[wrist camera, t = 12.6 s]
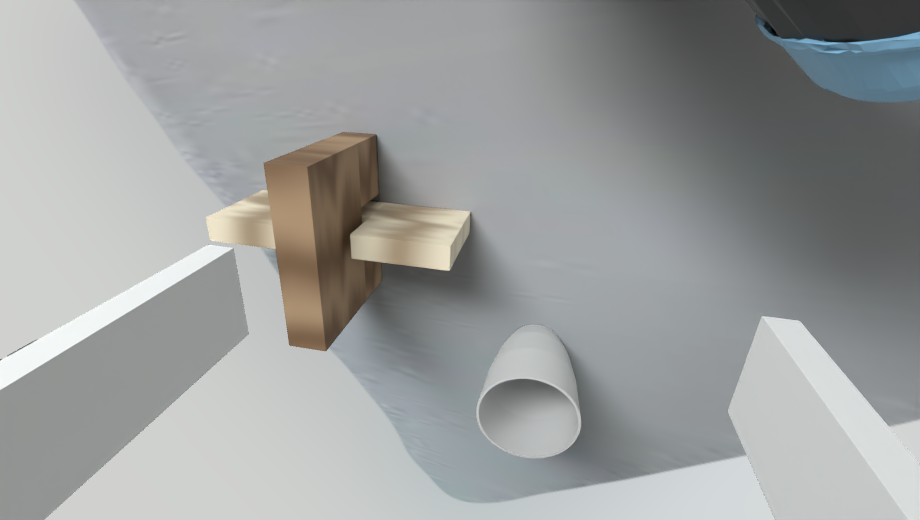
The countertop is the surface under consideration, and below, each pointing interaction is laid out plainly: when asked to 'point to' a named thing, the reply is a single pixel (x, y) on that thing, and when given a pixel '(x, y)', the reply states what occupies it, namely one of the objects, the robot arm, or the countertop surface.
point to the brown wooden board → (322, 234)
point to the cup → (530, 396)
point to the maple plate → (360, 231)
